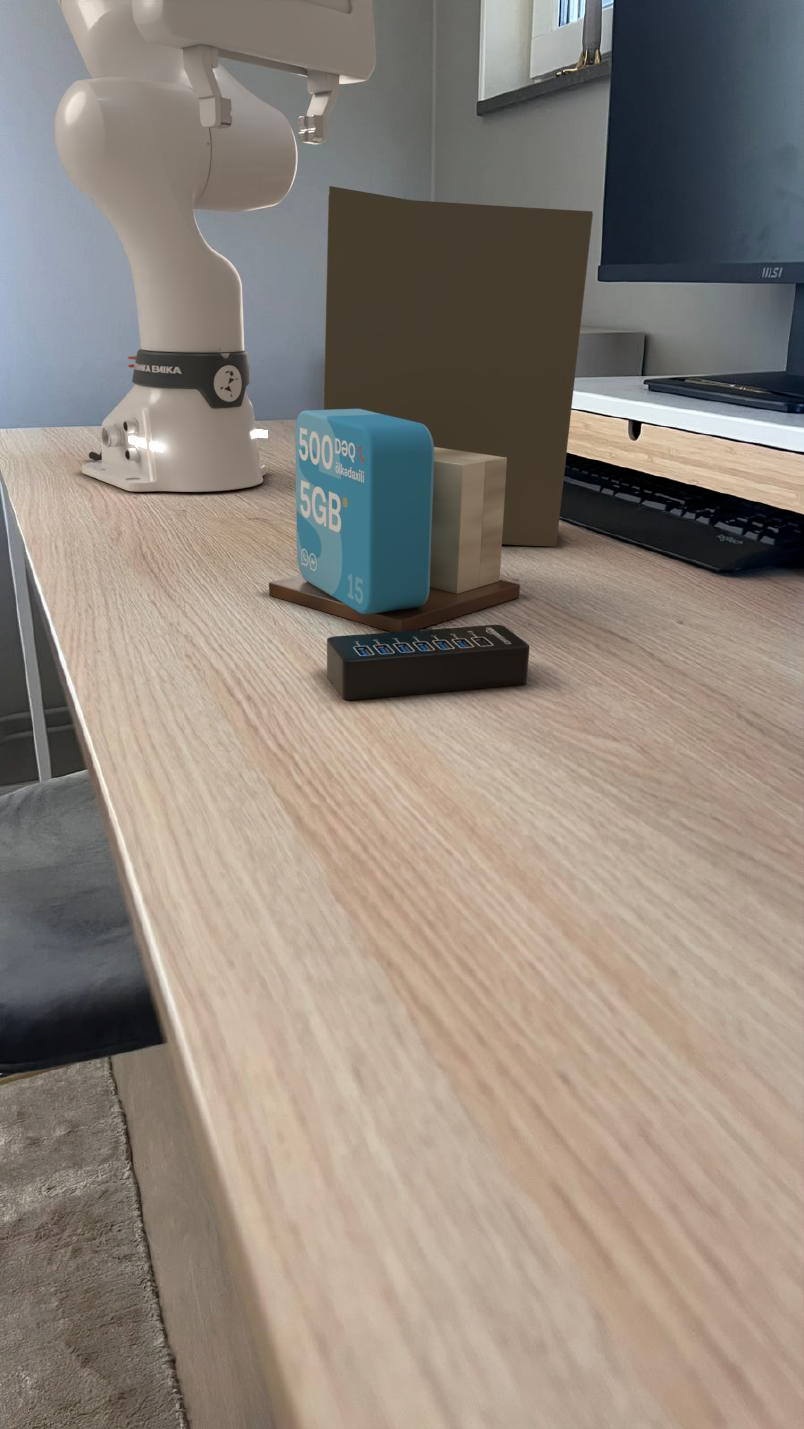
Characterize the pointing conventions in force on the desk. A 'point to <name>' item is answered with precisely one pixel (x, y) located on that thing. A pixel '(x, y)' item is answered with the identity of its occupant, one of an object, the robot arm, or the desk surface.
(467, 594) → the wood block on base
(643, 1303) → the desk surface
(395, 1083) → the desk surface
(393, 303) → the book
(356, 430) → the data package
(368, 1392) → the desk surface
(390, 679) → the multiport hub
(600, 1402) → the desk surface
